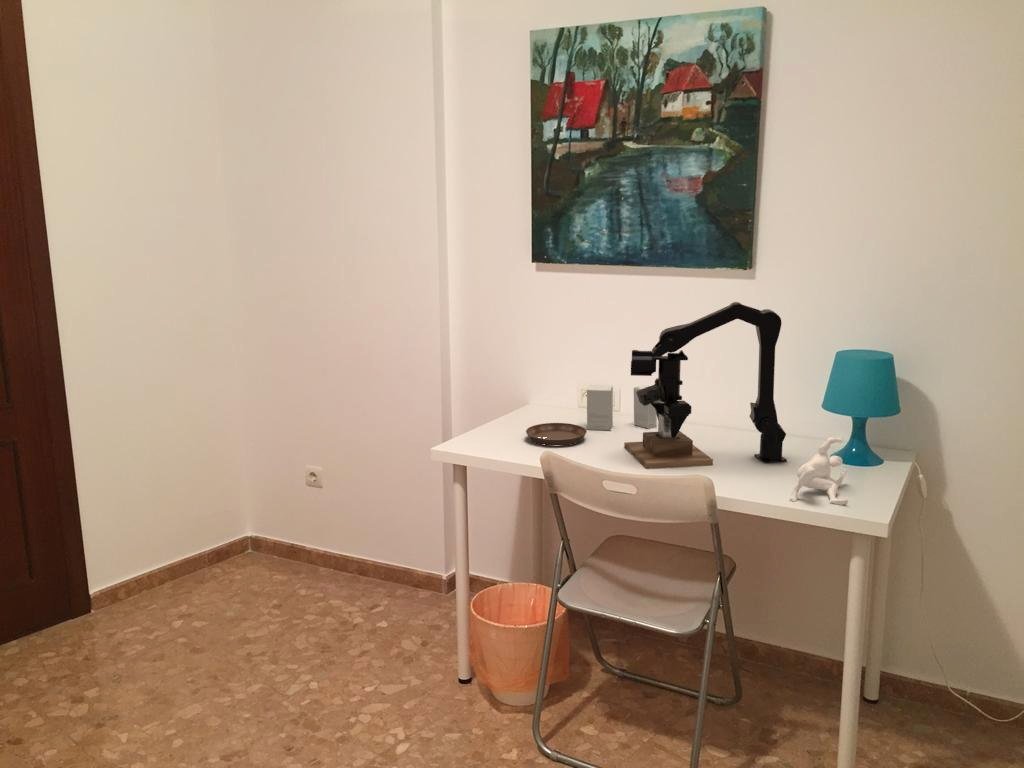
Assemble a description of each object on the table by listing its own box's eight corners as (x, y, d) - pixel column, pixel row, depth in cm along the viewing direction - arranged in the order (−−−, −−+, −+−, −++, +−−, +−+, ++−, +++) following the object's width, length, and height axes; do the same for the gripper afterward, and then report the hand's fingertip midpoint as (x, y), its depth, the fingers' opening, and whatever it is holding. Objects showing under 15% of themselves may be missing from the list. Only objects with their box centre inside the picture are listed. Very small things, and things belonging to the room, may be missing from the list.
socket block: (712, 465, 219) (713, 444, 217) (646, 468, 216) (646, 448, 215) (685, 444, 238) (686, 425, 237) (624, 447, 235) (624, 428, 234)
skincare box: (657, 426, 258) (658, 388, 255) (647, 429, 255) (648, 390, 252) (642, 422, 262) (643, 385, 260) (632, 425, 259) (633, 387, 257)
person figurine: (843, 463, 184) (840, 429, 200) (783, 469, 189) (785, 436, 204) (852, 514, 188) (849, 477, 203) (793, 520, 192) (794, 483, 208)
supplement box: (613, 425, 260) (613, 385, 258) (610, 431, 253) (611, 390, 250) (589, 423, 262) (589, 384, 259) (586, 429, 255) (586, 389, 252)
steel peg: (676, 452, 225) (677, 416, 223) (662, 453, 224) (663, 416, 222) (671, 448, 229) (672, 412, 227) (657, 449, 228) (658, 413, 226)
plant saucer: (573, 451, 233) (573, 441, 232) (516, 444, 240) (516, 434, 240) (595, 436, 249) (595, 426, 248) (540, 430, 256) (540, 420, 255)
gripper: (629, 370, 230) (628, 425, 233) (651, 384, 212) (649, 443, 215) (668, 369, 232) (667, 423, 235) (693, 382, 214) (691, 441, 217)
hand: (667, 432), depth 226 cm, fingers open, 9 cm apart
